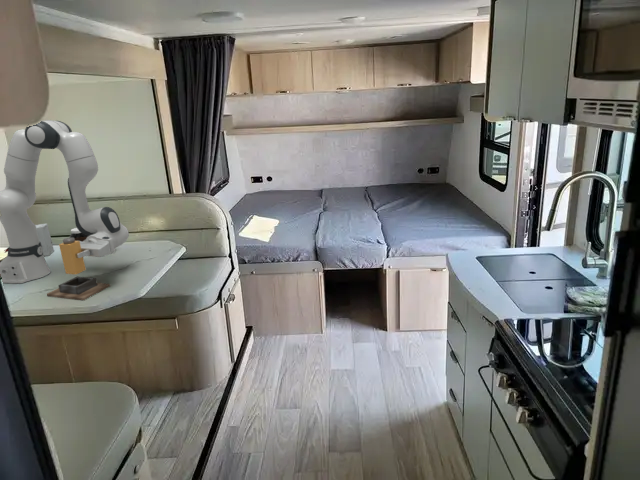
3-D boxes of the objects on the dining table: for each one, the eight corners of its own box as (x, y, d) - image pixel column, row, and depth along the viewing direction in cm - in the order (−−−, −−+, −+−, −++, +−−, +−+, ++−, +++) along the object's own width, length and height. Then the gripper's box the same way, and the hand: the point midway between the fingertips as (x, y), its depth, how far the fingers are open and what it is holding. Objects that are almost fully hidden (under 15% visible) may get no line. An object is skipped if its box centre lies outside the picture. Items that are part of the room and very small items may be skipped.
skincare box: (49, 256, 230) (42, 227, 225) (35, 257, 229) (28, 228, 224) (54, 250, 238) (48, 222, 233) (41, 252, 236) (35, 224, 232)
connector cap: (65, 273, 181) (58, 240, 177) (75, 269, 186) (68, 236, 182) (76, 274, 180) (68, 241, 176) (85, 269, 184) (78, 237, 180)
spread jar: (71, 254, 230) (66, 232, 227) (73, 248, 240) (68, 226, 237) (97, 251, 234) (93, 228, 231) (98, 244, 244) (94, 223, 241)
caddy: (47, 296, 182) (45, 286, 180) (75, 282, 194) (73, 273, 193) (83, 300, 176) (81, 290, 175) (110, 286, 189) (108, 277, 188)
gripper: (75, 236, 195) (47, 246, 182) (115, 238, 188) (89, 249, 176) (78, 250, 197) (51, 261, 184) (118, 253, 190) (92, 265, 178)
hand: (70, 255), depth 180 cm, fingers closed on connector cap, 5 cm apart
